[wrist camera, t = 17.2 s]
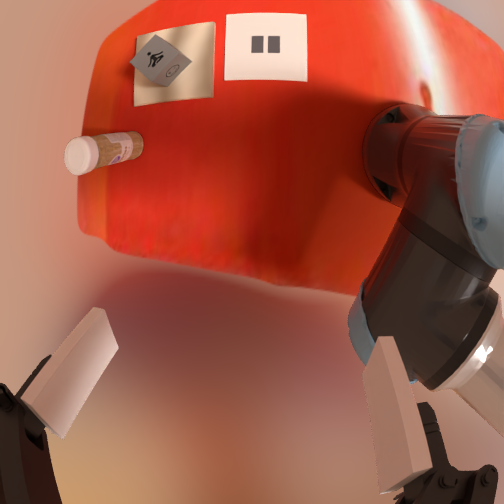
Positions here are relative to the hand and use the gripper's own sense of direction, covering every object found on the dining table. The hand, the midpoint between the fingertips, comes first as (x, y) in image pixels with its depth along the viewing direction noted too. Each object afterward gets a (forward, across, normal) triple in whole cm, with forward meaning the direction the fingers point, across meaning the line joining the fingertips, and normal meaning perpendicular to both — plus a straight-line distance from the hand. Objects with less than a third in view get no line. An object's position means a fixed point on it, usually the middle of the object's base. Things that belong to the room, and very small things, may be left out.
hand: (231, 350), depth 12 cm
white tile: (+29, +1, -22) cm, 36 cm away
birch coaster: (+29, +14, -20) cm, 38 cm away
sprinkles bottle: (+29, +21, -8) cm, 37 cm away
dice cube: (+28, +14, -20) cm, 37 cm away
